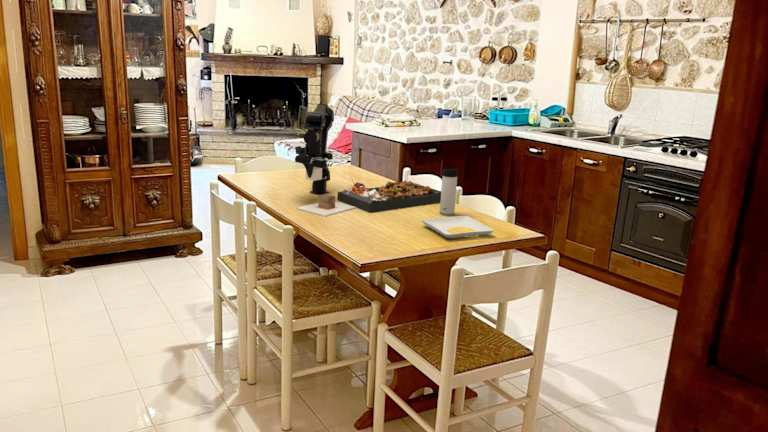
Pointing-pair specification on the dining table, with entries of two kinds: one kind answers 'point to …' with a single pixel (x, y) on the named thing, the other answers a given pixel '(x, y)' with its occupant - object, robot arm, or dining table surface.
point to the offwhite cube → (315, 174)
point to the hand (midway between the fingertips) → (313, 176)
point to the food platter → (389, 196)
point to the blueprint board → (326, 212)
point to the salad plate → (456, 221)
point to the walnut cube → (326, 201)
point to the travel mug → (448, 191)
